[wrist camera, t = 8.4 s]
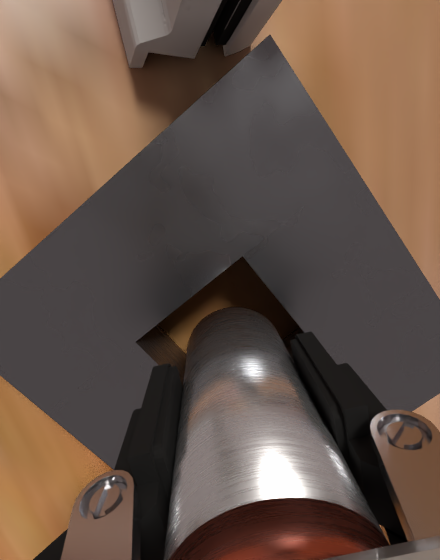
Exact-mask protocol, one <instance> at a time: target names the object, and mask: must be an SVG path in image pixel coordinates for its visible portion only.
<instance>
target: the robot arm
mask: <svg viewBox="0 0 440 560" xmlns="http://www.w3.org/2000/svg"><path fill="white" fill-rule="evenodd" d="M291 348H292V354H293V360H294V364H295V366H296V368H297V370H298V372H299V374H300V376H301V377H302V379H303V381H304V383H305V385H306V387H307V389H308V391H309V393H310V395H311V396H312V398H313V400H314V402H315V404H316V406H317V408H318V410H319V412H320V414H321V415H322V417H323V419H324V421H325V423H326V425H327V427H328V429H329V431H330V433H331V434H332V436H333V438H334V440H335V442H336V444H337V446H338V448H339V450H340V452H341V453H342V455H343V457H344V459H345V461H346V463H347V465H348V467H349V469H350V471H351V472H352V474H353V476H354V478H355V480H356V482H357V484H358V486H359V488H360V490H361V491H362V493H363V495H364V497H365V499H366V501H367V503H368V505H369V507H370V509H371V510H372V512H373V514H374V516H375V518H376V520H377V522H378V524H379V525H381V529H382V531H383V533H384V535H385V537H386V539H387V541H388V543H389V545H390V546H385V547H380V548H375V549H371V550H366V551H361V552H356V553H351V554H346V555H342V556H337V557H332V558H327V559H322V560H440V432H439V430H438V429H437V428H436V427H435V425H434V424H433V423H432V422H431V421H429V420H428V419H426V418H425V417H423V416H421V415H419V414H416V413H414V412H410V411H405V410H388V411H387V409H386V408H385V407H384V406H383V405H382V403H381V402H380V401H379V400H378V399H377V397H376V396H375V395H374V394H373V393H372V391H371V390H370V389H369V388H368V387H367V385H366V384H365V383H364V382H363V381H362V379H361V378H360V377H359V376H358V375H357V373H356V372H355V371H354V370H353V369H352V367H351V366H350V365H349V364H348V363H343V364H338V365H337V364H336V363H335V361H334V360H333V359H332V357H331V356H330V355H329V354H328V352H327V351H326V350H325V348H324V347H323V346H322V344H321V343H320V342H319V340H318V339H317V338H316V337H315V335H314V334H313V333H312V332H306V333H302V334H297V335H295V339H294V340H291ZM182 391H183V386H182V383H181V379H180V376H179V373H178V369H177V367H176V366H172V367H171V365H170V363H167V364H162V365H158V366H154V367H153V369H152V372H151V376H150V379H149V383H148V386H147V389H146V393H145V396H144V400H143V403H142V407H141V408H139V409H135V410H134V411H133V413H132V416H131V419H130V422H129V425H128V428H127V431H126V434H125V437H124V441H123V444H122V447H121V450H120V453H119V456H118V459H117V462H116V465H115V468H114V470H113V471H109V472H106V473H104V474H102V475H100V476H98V477H96V478H95V479H94V480H92V481H91V482H90V483H89V484H88V485H87V486H86V487H85V488H84V489H83V490H82V491H81V492H80V494H79V495H78V497H77V498H76V501H75V503H74V506H73V509H72V513H71V517H70V522H69V526H68V529H67V530H66V531H65V532H63V533H62V534H61V535H60V536H59V537H58V538H57V539H56V540H54V541H53V542H52V543H51V544H50V545H49V546H48V547H47V548H45V549H44V550H43V551H42V552H41V553H40V554H39V555H38V556H36V557H35V558H34V559H33V560H163V559H164V550H165V541H166V533H167V524H168V515H169V506H170V497H171V488H172V480H173V471H174V462H175V453H176V444H177V435H178V427H179V418H180V409H181V400H182Z"/></svg>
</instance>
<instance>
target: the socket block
mask: <svg viewBox="0 0 440 560" xmlns="http://www.w3.org/2000/svg"><path fill="white" fill-rule="evenodd" d="M242 256H243V257H244V259H245V260H246V261H247V262H248V264H249V265H250V266H251V267H252V268H253V270H254V271H255V272H256V273H257V275H258V276H259V277H260V278H261V280H262V281H263V282H264V283H265V284H266V286H267V287H268V288H269V289H270V291H271V292H272V293H273V294H274V296H275V297H276V298H277V299H278V300H279V302H280V303H281V304H282V305H283V307H284V308H285V309H286V310H287V312H288V313H289V314H290V315H291V317H292V318H293V319H294V320H295V321H296V323H297V324H298V325H299V326H300V328H298V329H297V330H295V331H294V332H293V333H291V334H290V335H289V336H287V337H286V338H285V339H283V340H282V341H283V343H284V345H285V347H286V349H287V351H288V353H289V355H290V357H291V358H292V360H293V354H292V348H291V340H294V339H295V335H297V334H302V333H306V332H312V333H313V334H314V335H315V337H316V338H317V339H318V340H319V342H320V343H321V344H322V346H323V347H324V348H325V350H326V351H327V352H328V354H329V355H330V356H331V357H332V359H333V360H334V361H335V363H336V364H337V365H338V364H343V363H348V364H349V365H350V366H351V367H352V369H353V370H354V371H355V372H356V373H357V375H358V376H359V377H360V378H361V379H362V381H363V382H364V383H365V384H366V385H367V387H368V388H369V389H370V390H371V391H372V393H373V394H374V395H375V396H376V397H377V399H378V400H379V401H380V402H381V403H382V405H383V406H384V407H385V408H386V409H387V411H388V410H405V411H410V412H412V411H413V410H415V409H417V408H418V407H420V406H421V405H423V404H424V403H426V402H427V401H429V400H430V399H432V398H433V397H435V396H436V395H438V394H439V393H440V300H439V298H438V296H437V295H436V293H435V292H434V290H433V289H432V287H431V285H430V284H429V282H428V281H427V279H426V278H425V276H424V275H423V273H422V271H421V270H420V268H419V267H418V265H417V264H416V262H415V260H414V259H413V257H412V256H411V254H410V253H409V251H408V249H407V248H406V246H405V245H404V243H403V242H402V240H401V239H400V237H399V235H398V234H397V232H396V231H395V229H394V228H393V226H392V224H391V223H390V221H389V220H388V218H387V217H386V215H385V214H384V212H383V210H382V209H381V207H380V206H379V204H378V203H377V201H376V199H375V198H374V196H373V195H372V193H371V192H370V190H369V188H368V187H367V185H366V184H365V182H364V181H363V179H362V178H361V176H360V174H359V173H358V171H357V170H356V168H355V167H354V165H353V163H352V162H351V160H350V159H349V157H348V156H347V154H346V153H345V151H344V149H343V148H342V146H341V145H340V143H339V142H338V140H337V138H336V137H335V135H334V134H333V132H332V131H331V129H330V127H329V126H328V124H327V123H326V121H325V120H324V118H323V117H322V115H321V113H320V112H319V110H318V109H317V107H316V106H315V104H314V102H313V101H312V99H311V98H310V96H309V95H308V93H307V92H306V90H305V88H304V87H303V85H302V84H301V82H300V81H299V79H298V77H297V76H296V74H295V73H294V71H293V70H292V68H291V66H290V65H289V63H288V62H287V60H286V59H285V57H284V56H283V54H282V52H281V51H280V49H279V48H278V46H277V45H276V43H275V41H274V40H273V38H272V37H271V35H269V36H268V37H267V38H265V39H264V40H263V41H262V42H261V43H260V44H259V45H258V46H257V47H256V48H254V49H253V50H252V51H251V52H250V53H249V54H248V55H247V56H246V57H244V58H243V59H242V60H241V61H240V62H239V63H238V64H237V65H236V66H235V67H233V68H232V69H231V70H230V71H229V72H228V73H227V74H226V75H225V76H223V77H222V78H221V79H220V80H219V81H218V82H217V83H216V84H215V85H214V86H212V87H211V88H210V89H209V90H208V91H207V92H206V93H205V94H204V95H203V96H201V97H200V98H199V99H198V100H197V101H196V102H195V103H194V104H193V105H191V106H190V107H189V108H188V109H187V110H186V111H185V112H184V113H183V114H182V115H180V116H179V117H178V118H177V119H176V120H175V121H174V122H173V123H172V124H170V125H169V126H168V127H167V128H166V129H165V130H164V131H163V132H162V133H161V134H159V135H158V136H157V137H156V138H155V139H154V140H153V141H152V142H151V143H150V144H148V145H147V146H146V147H145V148H144V149H143V150H142V151H141V152H140V153H138V154H137V155H136V156H135V157H134V158H133V159H132V160H131V161H130V162H129V163H127V164H126V165H125V166H124V167H123V168H122V169H121V170H120V171H119V172H117V173H116V174H115V175H114V176H113V177H112V178H111V179H110V180H109V181H108V182H106V183H105V184H104V185H103V186H102V187H101V188H100V189H99V190H98V191H97V192H95V193H94V194H93V195H92V196H91V197H90V198H89V199H88V200H87V201H85V202H84V203H83V204H82V205H81V206H80V207H79V208H78V209H77V210H76V211H74V212H73V213H72V214H71V215H70V216H69V217H68V218H67V219H66V220H64V221H63V222H62V223H61V224H60V225H59V226H58V227H57V228H56V229H55V230H53V231H52V232H51V233H50V234H49V235H48V236H47V237H46V238H45V239H44V240H42V241H41V242H40V243H39V244H38V245H37V246H36V247H35V248H34V249H32V250H31V251H30V252H29V253H28V254H27V255H26V256H25V257H24V258H23V259H21V260H20V261H19V262H18V263H17V264H16V265H15V266H14V267H13V268H11V269H10V270H9V271H8V272H7V273H6V274H5V275H4V276H3V277H2V278H0V376H2V377H3V378H4V379H5V380H6V381H8V382H9V383H10V384H11V385H12V386H14V387H15V388H16V389H17V390H18V391H20V392H21V393H22V394H23V395H24V396H26V397H27V398H28V399H29V400H30V401H32V402H33V403H34V404H35V405H36V406H38V407H39V408H40V409H41V410H43V411H44V412H45V413H46V414H47V415H49V416H50V417H51V418H52V419H53V420H55V421H56V422H57V423H58V424H59V425H61V426H62V427H63V428H64V429H65V430H67V431H68V432H69V433H70V434H71V435H73V436H74V437H75V438H76V439H77V440H79V441H80V442H81V443H82V444H83V445H85V446H86V447H87V448H88V449H89V450H91V451H92V452H93V453H94V454H95V455H97V456H98V457H99V458H100V459H101V460H103V461H104V462H105V463H106V464H107V465H109V466H110V467H111V468H112V469H113V470H114V468H115V465H116V462H117V459H118V456H119V453H120V450H121V447H122V444H123V441H124V437H125V434H126V431H127V428H128V425H129V422H130V419H131V416H132V413H133V411H134V410H135V409H139V408H141V407H142V403H143V400H144V396H145V393H146V389H147V386H148V383H149V379H150V376H151V372H152V369H153V367H154V366H158V365H162V364H167V363H170V365H171V367H172V366H176V367H177V369H178V373H179V376H180V379H181V383H182V386H183V382H184V374H185V365H186V356H187V355H186V354H185V353H184V352H183V351H182V350H181V349H180V348H179V347H178V346H177V345H176V344H175V343H174V341H173V340H172V339H171V338H170V337H169V336H168V335H167V334H166V333H165V332H164V331H163V330H162V329H161V328H160V327H159V326H158V325H157V324H158V323H160V322H161V321H162V320H163V319H165V318H166V317H167V316H168V315H170V314H171V313H172V312H173V311H175V310H176V309H177V308H178V307H180V306H181V305H182V304H183V303H185V302H186V301H187V300H188V299H190V298H191V297H192V296H193V295H195V294H196V293H197V292H198V291H200V290H201V289H202V288H203V287H205V286H206V285H207V284H208V283H210V282H211V281H212V280H213V279H215V278H216V277H217V276H218V275H220V274H221V273H222V272H223V271H225V270H226V269H227V268H228V267H230V266H231V265H232V264H233V263H235V262H236V261H237V260H238V259H240V258H241V257H242ZM293 362H294V360H293Z"/></svg>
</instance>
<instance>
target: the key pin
mask: <svg viewBox="0 0 440 560" xmlns="http://www.w3.org/2000/svg"><path fill="white" fill-rule="evenodd" d="M385 546H390V545H389V543H388V541H387V539H386V537H385V535H384V533H383V531H382V529H381V528H380V526H379V524H378V522H377V520H376V518H375V516H374V514H373V512H372V510H371V509H370V507H369V505H368V503H367V501H366V499H365V497H364V495H363V493H362V491H361V490H360V488H359V486H358V484H357V482H356V480H355V478H354V476H353V474H352V472H351V471H350V469H349V467H348V465H347V463H346V461H345V459H344V457H343V455H342V453H341V452H340V450H339V448H338V446H337V444H336V442H335V440H334V438H333V436H332V434H331V433H330V431H329V429H328V427H327V425H326V423H325V421H324V419H323V417H322V415H321V414H320V412H319V410H318V408H317V406H316V404H315V402H314V400H313V398H312V396H311V395H310V393H309V391H308V389H307V387H306V385H305V383H304V381H303V379H302V377H301V376H300V374H299V372H298V370H297V368H296V366H295V364H294V362H293V360H292V358H291V357H290V355H289V353H288V351H287V349H286V347H285V345H284V343H283V341H282V340H281V338H280V336H279V334H278V332H277V330H276V328H275V327H274V325H273V324H272V323H271V322H270V321H269V320H268V319H267V318H266V317H265V316H263V315H262V314H261V313H259V312H257V311H254V310H252V309H248V308H244V307H228V308H223V309H220V310H217V311H215V312H212V313H211V314H209V315H207V316H206V317H205V318H203V319H202V320H201V321H200V322H199V323H198V324H197V325H196V327H195V328H194V330H193V332H192V333H191V336H190V338H189V342H188V347H187V356H186V365H185V374H184V382H183V391H182V400H181V409H180V418H179V427H178V435H177V444H176V453H175V462H174V471H173V480H172V488H171V497H170V506H169V515H168V524H167V533H166V541H165V550H164V559H163V560H322V559H327V558H332V557H337V556H342V555H346V554H351V553H356V552H361V551H366V550H371V549H375V548H380V547H385Z"/></svg>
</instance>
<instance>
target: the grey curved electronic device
mask: <svg viewBox="0 0 440 560" xmlns="http://www.w3.org/2000/svg"><path fill="white" fill-rule="evenodd" d="M281 1H282V0H113V4H114V8H115V12H116V16H117V20H118V24H119V28H120V32H121V36H122V40H123V44H124V48H125V52H126V56H127V60H128V64H129V68H142V67H143V65H144V62H145V59H146V57H147V54H148V53H149V52H150V53H157V54H164V55H171V56H178V57H185V58H192V59H195V56H196V54H197V52H198V50H199V48H200V46H205V45H206V43H207V41H208V39H209V37H210V35H211V33H212V31H213V32H214V37H215V43H216V45H223V50H224V56H228V55H231V54H233V53H236V52H239V51H241V50H243V49H245V48H247V47H249V46H250V45H251V44H252V42H253V41H254V40H255V38H256V37H257V35H258V34H259V32H260V31H261V30H262V28H263V27H264V25H265V24H266V23H267V21H268V20H269V18H270V17H271V15H272V14H273V13H274V11H275V10H276V8H277V7H278V5H279V4H280V3H281Z"/></svg>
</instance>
